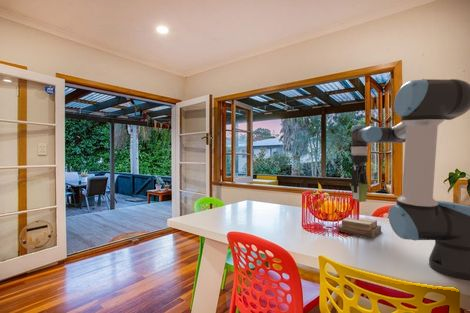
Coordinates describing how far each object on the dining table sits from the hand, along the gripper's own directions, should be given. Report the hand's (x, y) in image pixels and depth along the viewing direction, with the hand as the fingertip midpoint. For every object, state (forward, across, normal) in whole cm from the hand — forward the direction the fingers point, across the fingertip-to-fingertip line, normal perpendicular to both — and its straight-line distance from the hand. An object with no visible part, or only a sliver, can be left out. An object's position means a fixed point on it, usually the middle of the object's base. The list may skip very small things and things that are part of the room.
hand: (359, 197), depth 132 cm
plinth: (+18, 0, 0) cm, 18 cm away
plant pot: (+2, 0, 0) cm, 2 cm away
